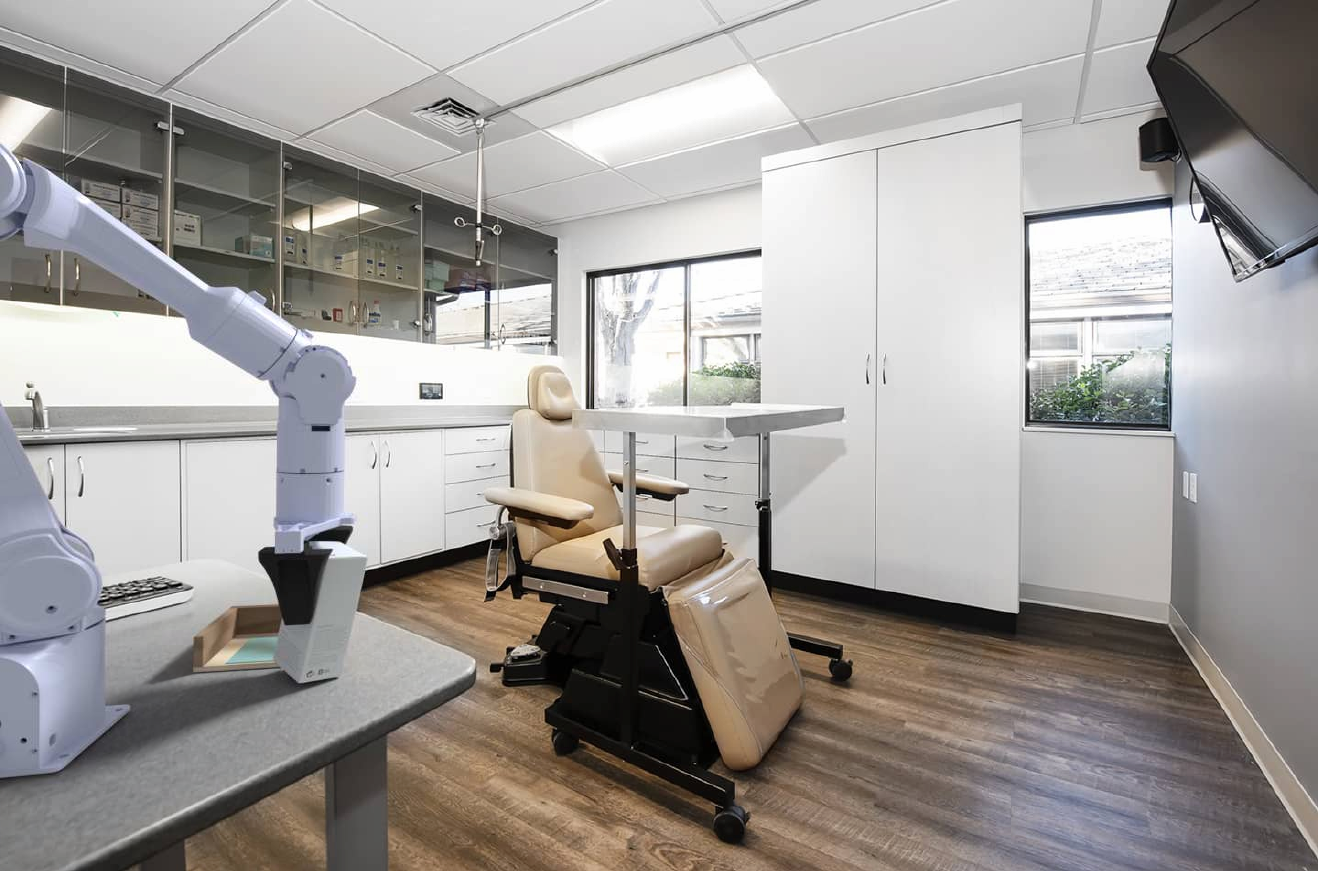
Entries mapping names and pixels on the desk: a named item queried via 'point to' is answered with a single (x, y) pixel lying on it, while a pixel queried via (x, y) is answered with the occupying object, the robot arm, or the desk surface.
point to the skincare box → (325, 619)
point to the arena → (238, 639)
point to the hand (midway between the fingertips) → (309, 610)
